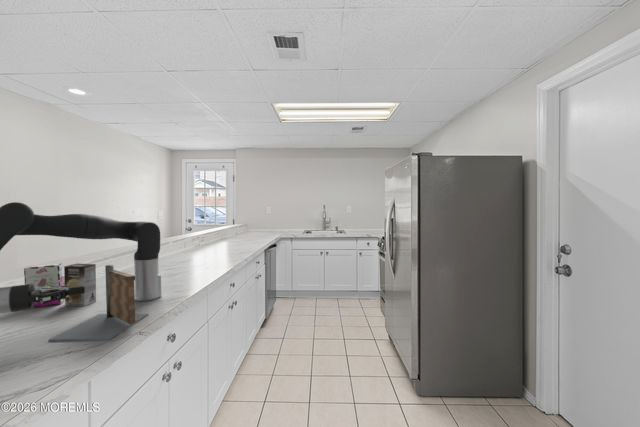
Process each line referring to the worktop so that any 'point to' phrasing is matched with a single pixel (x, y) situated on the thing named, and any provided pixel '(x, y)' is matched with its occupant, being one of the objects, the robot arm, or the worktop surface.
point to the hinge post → (108, 290)
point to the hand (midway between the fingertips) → (84, 289)
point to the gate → (122, 296)
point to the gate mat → (96, 329)
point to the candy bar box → (44, 279)
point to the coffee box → (81, 283)
